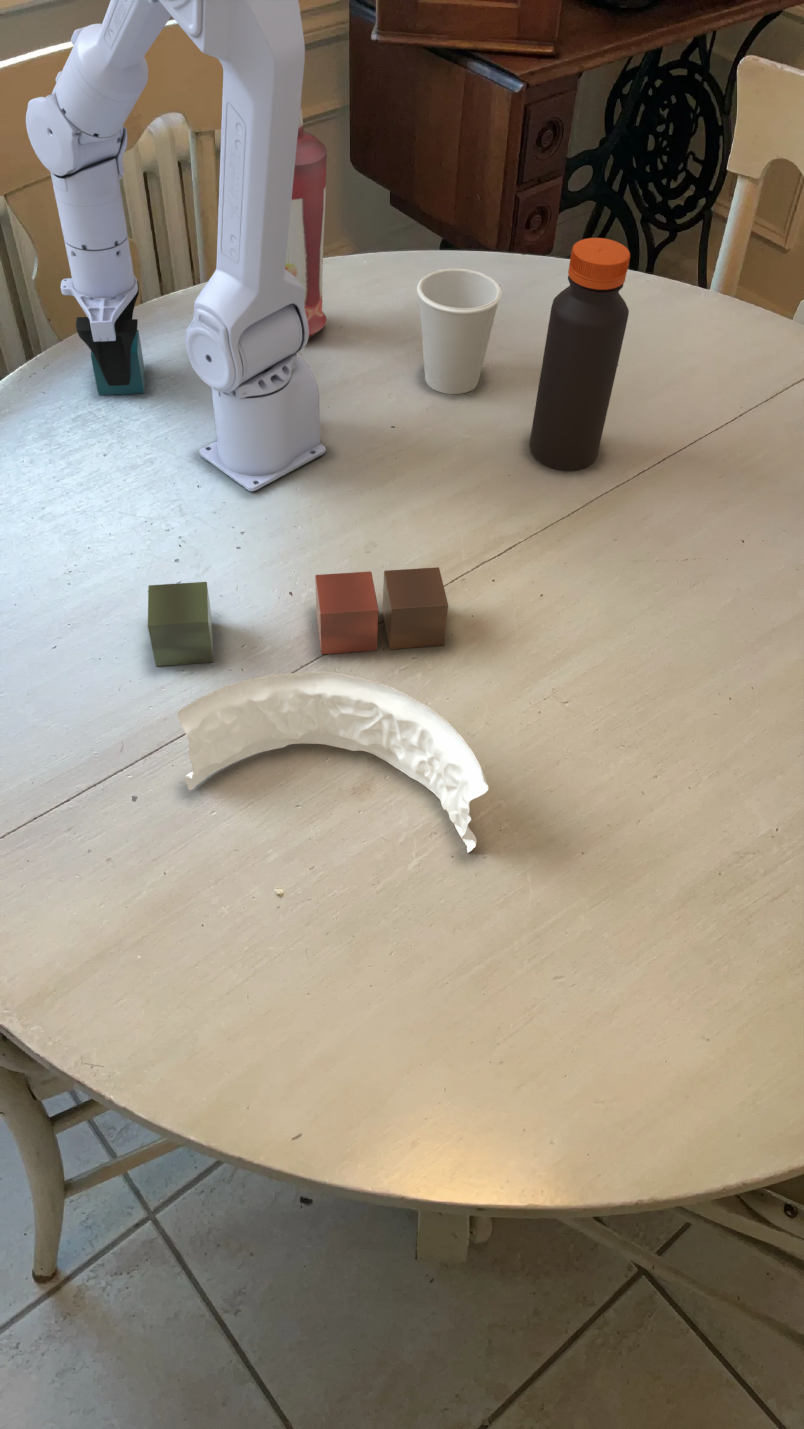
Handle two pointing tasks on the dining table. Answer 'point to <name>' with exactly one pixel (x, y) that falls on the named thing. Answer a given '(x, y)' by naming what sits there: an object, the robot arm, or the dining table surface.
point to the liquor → (308, 224)
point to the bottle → (581, 356)
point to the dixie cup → (456, 326)
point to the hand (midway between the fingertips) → (119, 369)
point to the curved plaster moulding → (335, 731)
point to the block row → (340, 612)
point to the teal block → (135, 377)
